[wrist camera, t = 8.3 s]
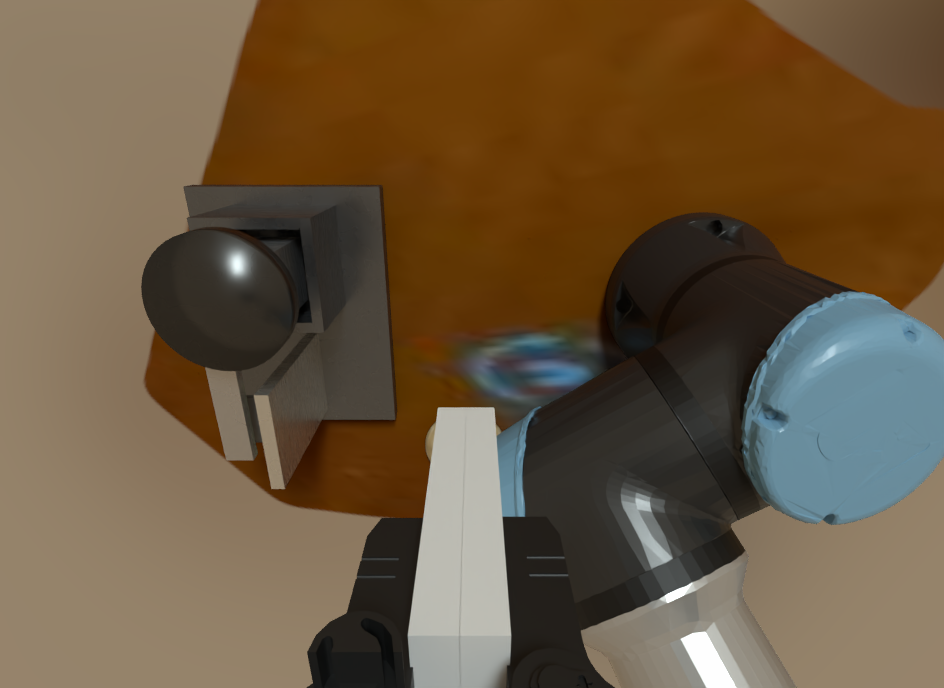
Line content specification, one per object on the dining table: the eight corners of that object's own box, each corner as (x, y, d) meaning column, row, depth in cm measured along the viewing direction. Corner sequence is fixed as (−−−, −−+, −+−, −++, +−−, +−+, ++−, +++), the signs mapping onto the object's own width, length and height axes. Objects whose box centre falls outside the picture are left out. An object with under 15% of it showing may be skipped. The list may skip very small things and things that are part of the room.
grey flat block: (261, 395, 39) (258, 398, 38) (269, 438, 40) (267, 442, 40) (242, 394, 39) (239, 398, 38) (250, 438, 40) (248, 442, 40)
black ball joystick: (323, 209, 37) (279, 231, 29) (345, 408, 44) (315, 473, 35) (202, 209, 37) (124, 230, 29) (242, 408, 44) (188, 472, 35)
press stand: (382, 185, 42) (343, 205, 29) (397, 411, 50) (372, 502, 38) (192, 184, 42) (74, 205, 30) (239, 411, 50) (163, 501, 38)
